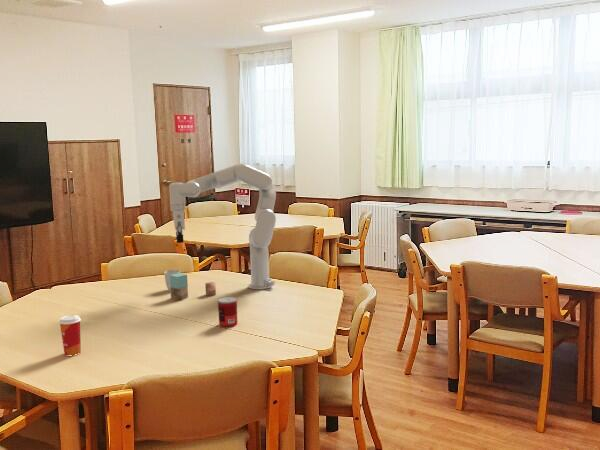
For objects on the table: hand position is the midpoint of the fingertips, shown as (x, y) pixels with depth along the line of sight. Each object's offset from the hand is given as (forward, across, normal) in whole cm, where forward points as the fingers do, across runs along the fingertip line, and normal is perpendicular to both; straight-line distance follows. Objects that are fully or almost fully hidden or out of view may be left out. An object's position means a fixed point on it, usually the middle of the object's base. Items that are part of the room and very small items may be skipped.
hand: (179, 240), depth 305 cm
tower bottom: (+27, -10, +2) cm, 29 cm away
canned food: (+27, -58, -17) cm, 67 cm away
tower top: (+21, -10, +2) cm, 23 cm away
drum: (+27, -8, -14) cm, 31 cm away
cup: (+27, +8, +5) cm, 29 cm away
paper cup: (+27, -76, +43) cm, 92 cm away
